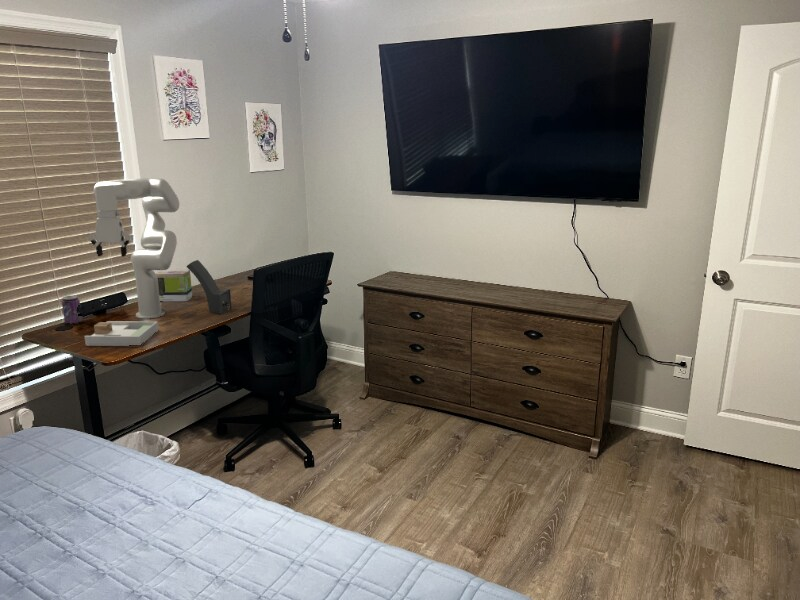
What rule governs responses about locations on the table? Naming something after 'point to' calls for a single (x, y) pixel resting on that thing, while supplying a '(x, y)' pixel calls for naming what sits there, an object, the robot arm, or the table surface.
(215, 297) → the light fixture
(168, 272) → the tea box
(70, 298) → the beverage can
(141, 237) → the robot arm
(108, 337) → the box
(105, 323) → the walnut block
